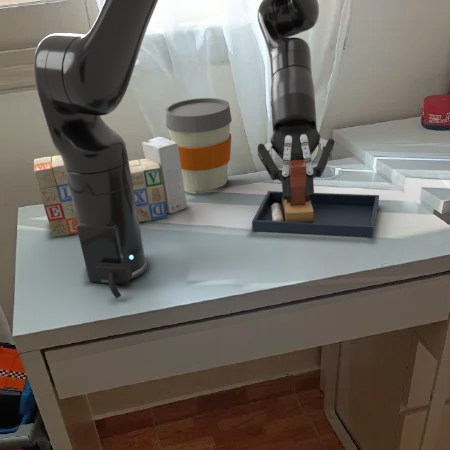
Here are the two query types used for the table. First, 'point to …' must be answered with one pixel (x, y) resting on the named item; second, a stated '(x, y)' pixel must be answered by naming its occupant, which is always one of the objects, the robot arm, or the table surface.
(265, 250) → the table surface
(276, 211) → the chalk
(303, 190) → the wooden block on base
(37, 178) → the stack of blocks
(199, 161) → the reusable coffee cup
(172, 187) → the cosmetic box
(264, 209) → the tray
